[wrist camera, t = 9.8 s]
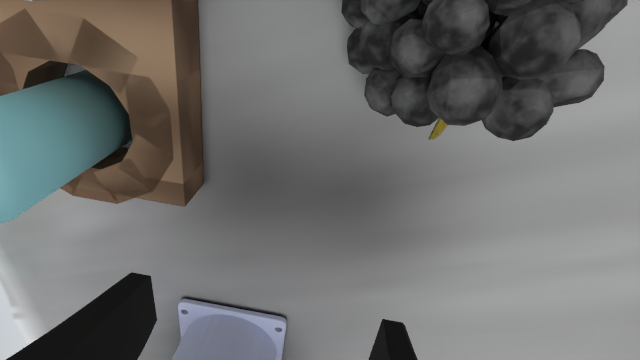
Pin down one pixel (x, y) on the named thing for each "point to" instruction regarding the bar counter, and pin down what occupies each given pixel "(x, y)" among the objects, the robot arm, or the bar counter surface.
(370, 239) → the bar counter surface
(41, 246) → the bar counter surface
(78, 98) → the peg
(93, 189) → the socket station
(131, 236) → the bar counter surface
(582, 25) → the fruit
